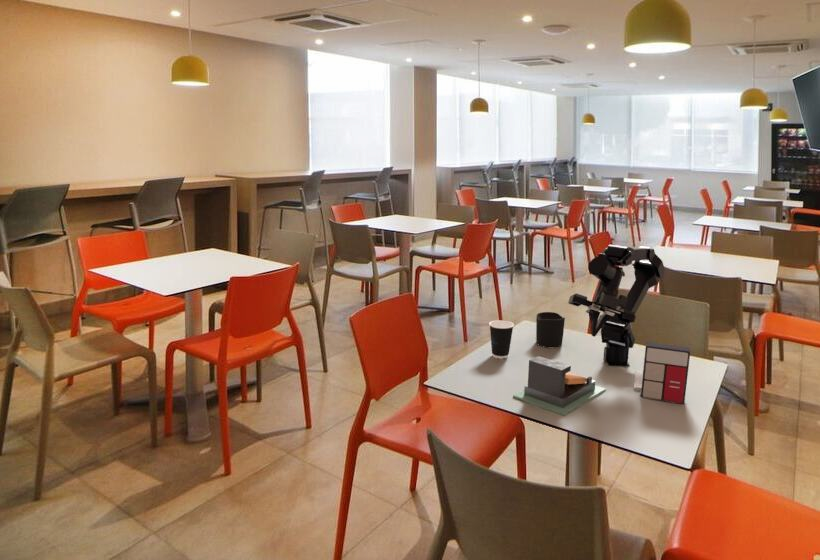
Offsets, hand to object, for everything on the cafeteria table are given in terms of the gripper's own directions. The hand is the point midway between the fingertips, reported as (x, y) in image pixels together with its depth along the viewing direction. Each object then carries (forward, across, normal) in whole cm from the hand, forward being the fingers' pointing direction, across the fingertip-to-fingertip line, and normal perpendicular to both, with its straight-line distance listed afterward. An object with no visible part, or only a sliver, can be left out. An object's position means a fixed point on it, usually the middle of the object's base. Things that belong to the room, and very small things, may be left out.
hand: (593, 336), depth 180 cm
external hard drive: (+9, +19, +1) cm, 21 cm away
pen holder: (+4, -6, +32) cm, 33 cm away
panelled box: (+12, +20, -9) cm, 25 cm away
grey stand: (+19, -6, -7) cm, 21 cm away
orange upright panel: (+13, -4, -5) cm, 15 cm away
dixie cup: (+14, -22, +20) cm, 33 cm away
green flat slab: (+19, -6, -7) cm, 21 cm away
